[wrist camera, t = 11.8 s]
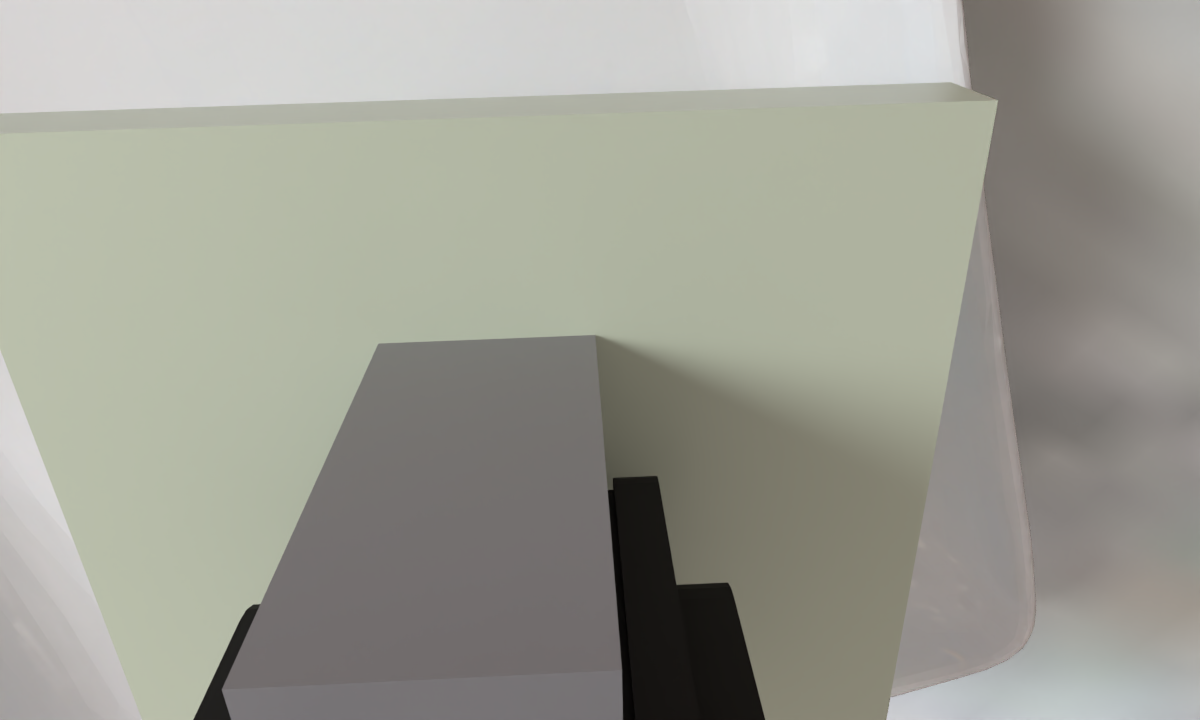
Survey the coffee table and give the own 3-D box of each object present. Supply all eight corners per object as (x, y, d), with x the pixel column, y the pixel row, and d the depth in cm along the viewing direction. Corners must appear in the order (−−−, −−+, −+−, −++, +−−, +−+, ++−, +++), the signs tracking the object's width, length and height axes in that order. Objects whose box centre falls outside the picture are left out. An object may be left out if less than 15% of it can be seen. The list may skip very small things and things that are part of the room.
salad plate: (983, 558, 20) (1062, 675, 16) (161, 781, 22) (95, 919, 19) (784, -746, 10) (879, -1037, 7) (-621, -114, 12) (-1005, -127, 9)
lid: (-10, 113, 10) (-792, 357, 4) (950, 82, 10) (1447, 273, 4) (213, 769, 15) (0, 1281, 9) (849, 736, 15) (1020, 1216, 9)
